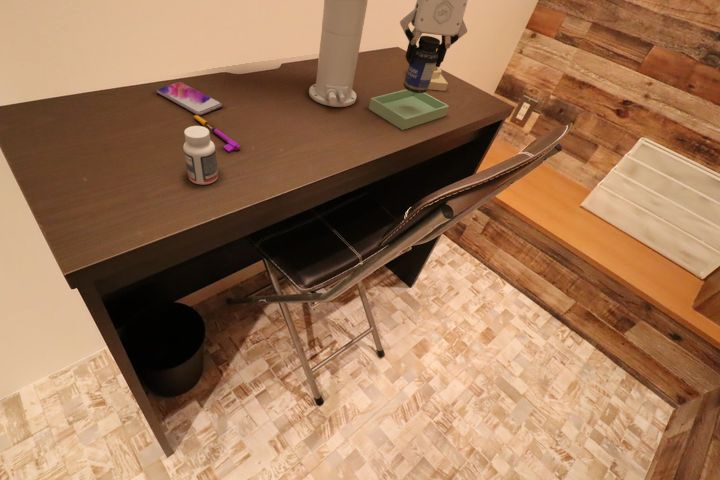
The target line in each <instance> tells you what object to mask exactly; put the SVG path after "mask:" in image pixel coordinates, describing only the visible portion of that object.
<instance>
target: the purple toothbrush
mask: <svg viewBox="0 0 720 480" xmlns="http://www.w3.org/2000/svg"><path fill="white" fill-rule="evenodd" d="M193 118H194V119H195V120H196V121H197V122H199V123H200V124H201V125H202V127H205V128H210V129H211V131H212V132H213V133H214V134H215V135H216V136H218V137H219V138H220V139H222V140H223V141H225V142H226V143H227V144H225V145H224V146H222V147H223V149H224V150H225V151H226V152H227V153H231V152H232V151H235V152H236V151H238V150H240V149H241V145H240V143H238V142H237V141H235V140H234V139H231V138H230V136H228V135H226V134H225V133H223V131H220V130H219V129H217V128H216V127H211V126H210V125H209V121H207V120H206V119H204V118H203V117H201V116H200V115H197V114H195V115H193Z"/></svg>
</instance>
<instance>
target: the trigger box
mask: <svg viewBox="0 0 720 480" xmlns="http://www.w3.org/2000/svg"><path fill="white" fill-rule="evenodd" d="M442 71H443V69H442V68H441V66H440V67H437V70H436V71H434V72H433V75H432V78H431V81H430V84H429V87H428V90H429V91H430V90H431V91H439V92H440V91H441V92H446V90H447V88H448V85H449V83H448V81H447V80H446V79H445V77H444V76H443V75H442Z"/></svg>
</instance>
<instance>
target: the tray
mask: <svg viewBox="0 0 720 480" xmlns="http://www.w3.org/2000/svg"><path fill="white" fill-rule="evenodd" d="M449 108H450V105H448V104H447V103H445V102H443V101H441V100H439V99H437V98H435V97H434V96H431V95H430V94H428V93H426V92H424V93H414V92H411V91H408V90H407V89H406V88H405V89H401V90H397V91H394V92H389V93H386V94H381V95H378V96H374V97H370V100H369V104H368V110H369V111H371V112H373V113H374V114H376V115H378V116H379V117H381V119H384V120H385V121H387V122H389V123H391V125H393V126H395V127H397V128H398V129H399V130H402V131H405V130H407V129H411V128H414V127H416V126H420V125H423V124H425V123H429V122H432V121H436V120H438V119H441V118H444V117H446V116H447V113H448V111H449Z"/></svg>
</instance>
